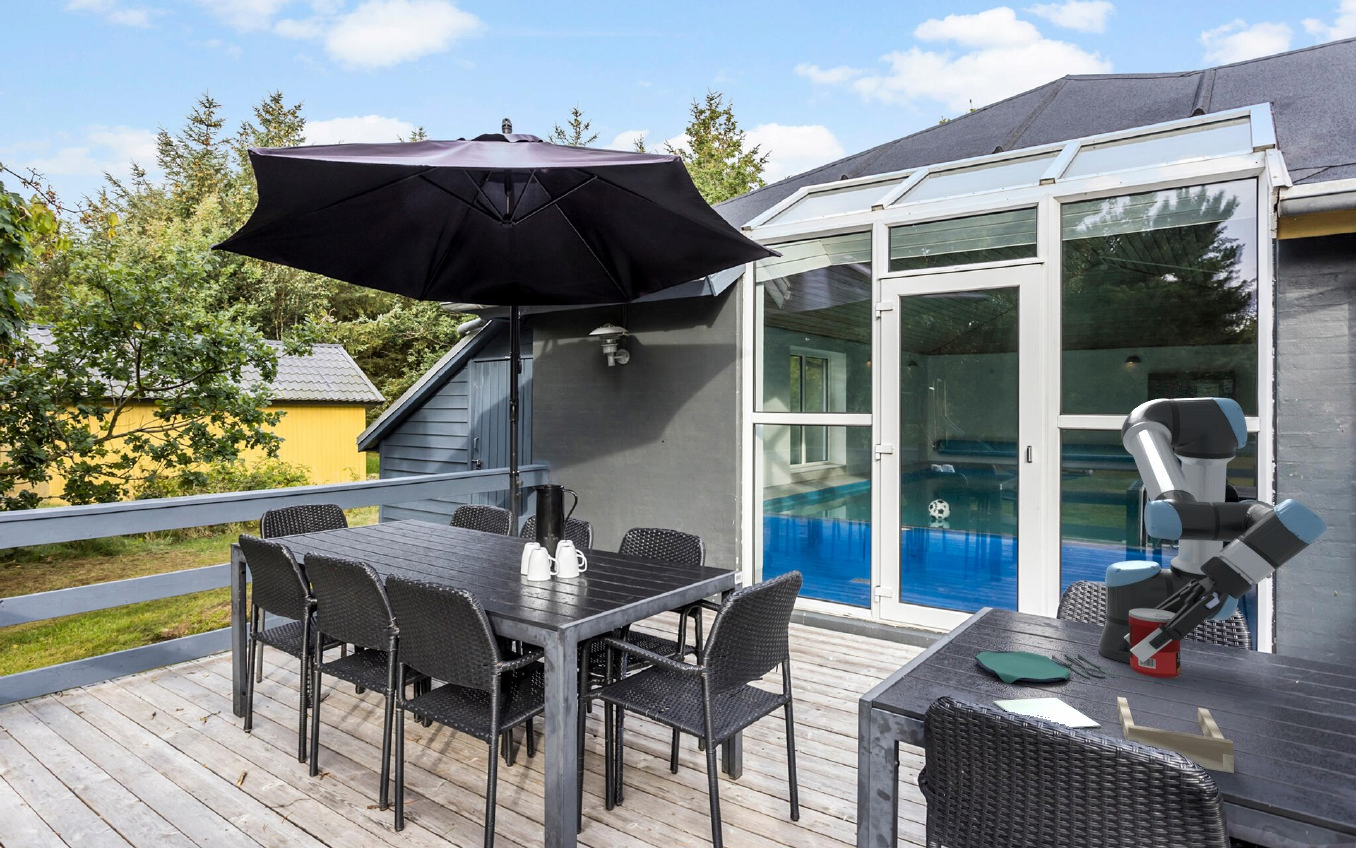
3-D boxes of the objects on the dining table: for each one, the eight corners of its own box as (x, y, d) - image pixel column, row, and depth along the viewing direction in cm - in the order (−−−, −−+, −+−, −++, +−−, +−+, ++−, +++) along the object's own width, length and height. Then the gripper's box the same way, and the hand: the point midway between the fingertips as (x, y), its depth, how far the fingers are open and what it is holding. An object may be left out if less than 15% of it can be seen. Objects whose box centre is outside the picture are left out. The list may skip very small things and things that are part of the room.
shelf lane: (1117, 711, 147) (1117, 686, 147) (1207, 724, 140) (1207, 698, 140) (1129, 755, 128) (1128, 727, 128) (1234, 773, 121) (1233, 743, 121)
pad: (1056, 699, 153) (1056, 697, 153) (1100, 727, 139) (1100, 725, 139) (993, 702, 152) (993, 701, 152) (1031, 731, 138) (1031, 729, 138)
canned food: (1189, 679, 131) (1187, 619, 131) (1140, 678, 133) (1139, 618, 133) (1168, 665, 139) (1167, 608, 139) (1123, 664, 140) (1121, 607, 140)
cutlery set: (961, 659, 180) (961, 649, 180) (1077, 657, 182) (1077, 648, 182) (1001, 689, 161) (1001, 679, 161) (1131, 687, 162) (1131, 677, 162)
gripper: (1272, 599, 120) (1160, 683, 127) (1237, 574, 139) (1140, 649, 145) (1232, 565, 122) (1124, 650, 129) (1203, 545, 141) (1109, 620, 148)
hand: (1133, 649), depth 137 cm, fingers closed on canned food, 8 cm apart
